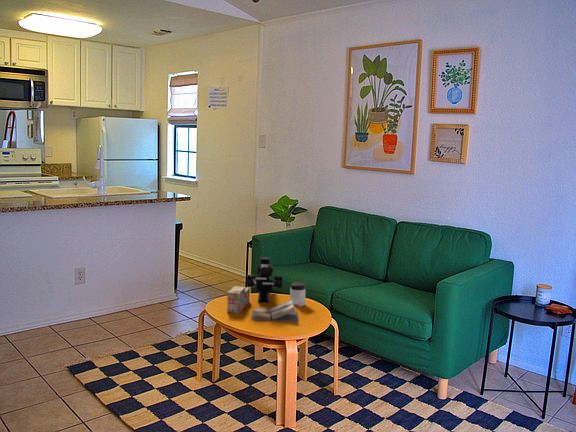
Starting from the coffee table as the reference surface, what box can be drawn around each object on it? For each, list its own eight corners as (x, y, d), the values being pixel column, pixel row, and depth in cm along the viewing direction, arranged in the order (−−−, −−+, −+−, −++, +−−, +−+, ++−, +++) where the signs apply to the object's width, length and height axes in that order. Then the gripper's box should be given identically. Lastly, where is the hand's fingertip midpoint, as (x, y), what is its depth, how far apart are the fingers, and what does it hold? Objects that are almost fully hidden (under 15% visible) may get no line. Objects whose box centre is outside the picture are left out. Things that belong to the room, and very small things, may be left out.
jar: (288, 302, 312) (289, 281, 310) (302, 301, 314) (303, 281, 312) (292, 307, 303) (292, 286, 302) (306, 306, 305) (307, 285, 304)
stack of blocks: (238, 302, 308) (239, 281, 306) (249, 303, 307) (250, 282, 305) (227, 314, 288) (227, 291, 286) (238, 315, 286) (239, 293, 284)
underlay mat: (252, 312, 293) (252, 310, 293) (297, 313, 294) (297, 311, 294) (251, 322, 277) (251, 320, 277) (299, 323, 278) (299, 321, 278)
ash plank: (272, 311, 292) (271, 307, 292) (293, 302, 292) (292, 299, 292) (273, 319, 278) (271, 316, 278) (294, 310, 278) (293, 307, 278)
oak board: (255, 310, 292) (255, 307, 291) (270, 311, 292) (270, 307, 292) (254, 319, 278) (254, 316, 277) (270, 320, 278) (270, 316, 278)
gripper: (247, 262, 298) (247, 269, 282) (282, 263, 299) (283, 271, 283) (247, 282, 300) (246, 290, 284) (281, 283, 301) (282, 291, 285)
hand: (264, 285), depth 284 cm, fingers open, 9 cm apart
